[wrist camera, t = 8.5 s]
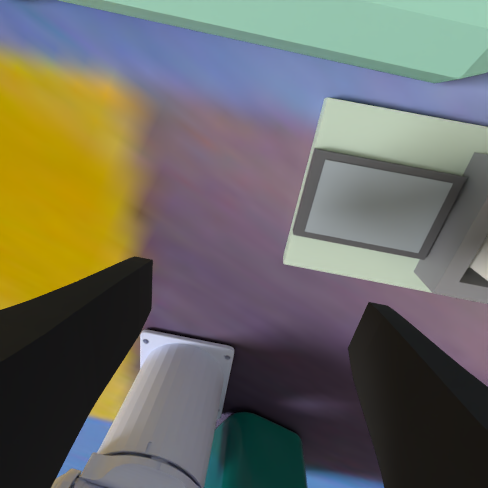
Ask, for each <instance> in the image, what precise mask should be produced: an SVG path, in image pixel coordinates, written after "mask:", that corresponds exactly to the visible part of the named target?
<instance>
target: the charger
mask: <svg viewBox="0 0 488 488" xmlns="http://www.w3.org/2000/svg"><path fill="white" fill-rule="evenodd" d="M469 267H470V268H472V269H473V270H474V271H476V272H477V273H478V274H479V275H481V276H482V277H483V278H485V279H486V280H487V281H488V235H487V237H486V239H485V240H484V242H483V243H482V245H481V247H480V248H479V250H478V252H477V253H476V255H475V257H474V258H473V260H472V262H471V263H470V265H469Z"/></svg>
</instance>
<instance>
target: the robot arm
mask: <svg viewBox="0 0 488 488" xmlns="http://www.w3.org/2000/svg"><path fill="white" fill-rule="evenodd" d="M152 266H153V260H150V259H145V258H140V257H132V258H129V259H127V260H124V261H122V262H120V263H117V264H115V265H113V266H111V267H108V268H106V269H104V270H102V271H99V272H97V273H95V274H93V275H90V276H88V277H86V278H84V279H81V280H79V281H77V282H74V283H72V284H69V285H67V286H64V287H62V288H59V289H57V290H54V291H52V292H49V293H47V294H44V295H42V296H39V297H37V298H34V299H31V300H29V301H26V302H23V303H20V304H17V305H14V306H11V307H8V308H5V309H2V310H0V488H204V486H205V480H206V475H207V469H208V464H209V458H210V453H211V448H212V442H213V437H214V431H215V426H216V421H217V419H219V418H221V414H222V409H223V405H224V400H225V395H226V390H227V385H228V381H229V376H230V371H231V366H232V361H233V357H234V348H233V347H231V346H228V345H223V344H218V343H213V342H208V341H203V340H198V339H193V338H187V337H182V336H177V335H172V334H167V333H162V332H157V331H152V330H143V331H142V333H141V335H140V371H139V373H138V375H137V377H136V379H135V381H134V383H133V385H132V387H131V389H130V391H129V393H128V395H127V396H126V398H125V400H124V402H123V404H122V406H121V408H120V410H119V412H118V414H117V416H116V418H115V420H114V421H113V423H112V425H111V427H110V429H109V431H108V433H107V435H106V437H105V439H104V441H103V443H102V445H101V446H100V448H99V450H98V452H97V453H92V455H91V457H90V459H89V460H88V462H87V464H86V466H85V468H84V470H83V472H82V474H81V471H79V470H76V469H70V470H69V471H68V472H67V473H66V474H63V475H62V476H60V477H58V478H56V477H57V475H58V473H59V471H60V469H61V467H62V465H63V463H64V461H65V459H66V457H67V455H68V453H69V451H70V449H71V447H72V445H73V444H74V442H75V440H76V438H77V436H78V434H79V432H80V430H81V428H82V426H83V425H84V423H85V421H86V419H87V417H88V415H89V413H90V412H91V410H92V408H93V407H94V405H95V403H96V402H97V400H98V398H99V397H100V395H101V394H102V392H103V391H104V389H105V387H106V386H107V384H108V383H109V381H110V380H111V378H112V377H113V375H114V374H115V372H116V370H117V369H118V367H119V366H120V364H121V363H122V361H123V360H124V358H125V357H126V355H127V353H128V352H129V350H130V349H131V347H132V346H133V344H134V342H135V341H136V339H137V338H138V336H139V334H140V332H141V330H142V328H143V326H144V324H145V322H146V320H147V317H148V315H149V313H150V311H151V305H152ZM146 339H147V340H146ZM348 351H349V357H350V364H351V370H352V375H353V380H354V383H355V387H356V390H357V393H358V397H359V400H360V403H361V407H362V410H363V413H364V416H365V420H366V423H367V426H368V429H369V433H370V436H371V439H372V442H373V446H374V449H375V452H376V455H377V459H378V463H379V467H380V470H381V474H382V479H383V483H384V488H488V387H487V386H486V385H485V384H483V383H482V382H481V381H479V380H478V379H477V378H476V377H474V376H473V375H472V374H470V373H469V372H468V371H467V370H465V369H464V368H463V367H462V366H460V365H459V364H458V363H457V362H456V361H454V360H453V359H452V358H451V357H449V356H448V355H447V354H446V353H445V352H443V351H442V350H441V349H440V348H439V347H437V346H436V345H435V344H434V343H433V342H432V341H430V340H429V339H428V338H427V337H426V336H425V335H423V334H422V333H421V332H420V331H419V330H417V329H416V328H415V327H414V326H413V325H412V324H410V323H409V322H408V321H407V320H406V319H404V318H403V317H402V316H401V315H399V314H398V313H397V312H396V311H394V310H393V309H391V308H390V307H389V306H386V305H381V304H376V303H371V302H369V303H368V305H367V307H366V309H365V312H364V314H363V316H362V318H361V320H360V323H359V325H358V327H357V329H356V331H355V334H354V336H353V338H352V340H351V342H350V345H349V347H348ZM226 355H228V356H226Z"/></svg>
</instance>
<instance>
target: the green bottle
mask: <svg viewBox="0 0 488 488" xmlns="http://www.w3.org/2000/svg"><path fill="white" fill-rule="evenodd" d="M204 488H308V485H307V477H306V469H305V460H304V452H303V444H302V440H301V438H300V437H299V436H298V435H297V434H296V433H295V432H293V431H291V430H289V429H287V428H285V427H283V426H280V425H278V424H276V423H274V422H272V421H270V420H268V419H265V418H263V417H261V416H259V415H257V414H255V413H252V412H246V411H245V412H237V413H234V414H231V415H230V416H229V417H228V418H227V419H226V420H225V421H223V422H222V423H221V424H220V425H219V426H218V427H217V428H216V429H215V431H214V437H213V442H212V448H211V453H210V458H209V464H208V469H207V475H206V480H205V486H204Z"/></svg>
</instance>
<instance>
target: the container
mask: <svg viewBox="0 0 488 488" xmlns="http://www.w3.org/2000/svg"><path fill="white" fill-rule="evenodd" d="M59 1H63V2H68V3H73V4H77V5H82V6H86V7H91V8H95V9H100V10H104V11H109V12H113V13H118V14H122V15H127V16H132V17H136V18H141V19H145V20H150V21H154V22H159V23H163V24H168V25H172V26H177V27H181V28H186V29H191V30H195V31H200V32H204V33H209V34H213V35H218V36H222V37H227V38H231V39H236V40H240V41H245V42H250V43H254V44H259V45H263V46H268V47H272V48H277V49H281V50H286V51H290V52H295V53H299V54H304V55H309V56H313V57H318V58H322V59H327V60H331V61H336V62H340V63H345V64H349V65H354V66H358V67H363V68H367V69H372V70H377V71H381V72H386V73H390V74H395V75H399V76H404V77H408V78H413V79H417V80H422V81H426V82H431V83H439V82H445V81H451V80H456V79H461V78H466V77H470V76H475V75H479V74H484V73H487V72H488V0H59Z"/></svg>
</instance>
